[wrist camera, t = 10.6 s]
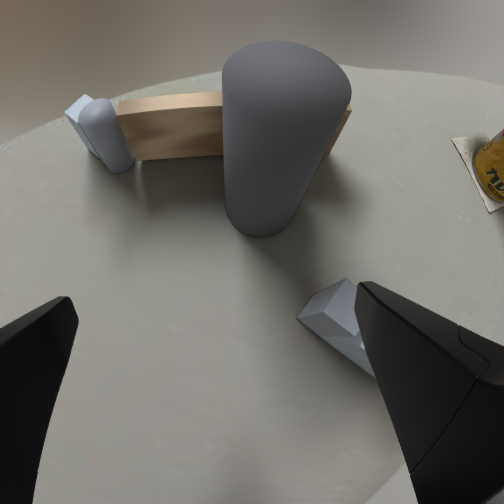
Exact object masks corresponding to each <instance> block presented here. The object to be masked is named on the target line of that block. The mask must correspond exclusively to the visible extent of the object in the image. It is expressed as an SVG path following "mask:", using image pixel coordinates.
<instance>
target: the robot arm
mask: <svg viewBox="0 0 504 504" xmlns="http://www.w3.org/2000/svg"><path fill="white" fill-rule="evenodd" d="M354 311H355V315H356V319H357V322H358V326H359V330H360V333H361V337H362V340H363V344H364V348H365V351H366V354H367V357H368V360H369V362H370V365H371V367H372V370H373V372H374V375H375V377H376V380H377V383H378V385H379V388H380V390H381V393H382V396H383V398H384V401H385V404H386V406H387V409H388V412H389V415H390V417H391V420H392V423H393V426H394V429H395V432H396V434H397V437H398V440H399V443H400V446H401V449H402V452H403V455H404V458H405V461H406V464H407V467H408V470H409V473H410V478H411V481H412V484H413V487H414V491H415V494H416V497H417V501H418V504H504V346H502V345H500V344H497V343H495V342H493V341H491V340H489V339H486V338H484V337H482V336H480V335H478V334H476V333H474V332H472V331H470V330H468V329H466V328H464V327H462V326H460V325H459V326H458V325H457V324H456V323H454V322H452V321H450V320H448V319H446V318H444V317H442V316H440V315H439V314H437V313H435V312H433V311H431V310H429V309H427V308H425V307H423V306H421V305H419V304H417V303H415V302H413V301H411V300H409V299H407V298H405V297H403V296H401V295H399V294H397V293H395V292H393V291H391V290H388V289H386V288H384V287H382V286H380V285H378V284H376V283H374V282H372V281H367V282H360V283H359V284H358V286H357V291H356V298H355V304H354ZM78 323H79V320H78V316H77V313H76V311H75V308H74V305H73V303H72V300H71V299H70V298H69V297H67V296H59V297H57V298H55V299H53V300H51V301H49V302H47V303H45V304H44V305H42V306H40V307H38V308H36V309H34V310H32V311H31V312H29V313H27V314H25V315H23V316H22V317H20V318H18V319H16V320H14V321H13V322H11V323H9V324H7V325H5V326H4V327H2V328H0V504H32V503H33V496H34V490H35V484H36V479H37V474H38V468H39V463H40V459H41V454H42V450H43V446H44V441H45V437H46V433H47V430H48V426H49V422H50V419H51V415H52V412H53V408H54V405H55V401H56V398H57V395H58V392H59V389H60V386H61V383H62V379H63V377H64V374H65V371H66V368H67V365H68V362H69V358H70V354H71V350H72V346H73V342H74V339H75V335H76V331H77V328H78Z"/></svg>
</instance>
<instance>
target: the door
mask: <svg viewBox="0 0 504 504" xmlns="http://www.w3.org/2000/svg"><path fill="white" fill-rule="evenodd" d="M351 111H352V110H351V106H350V103H349V105H348V107H347V109H346V111H345V113H344V115H343V117H342V119H341V121H340V123H339V125H338V127H337V129H336V131H335V133H334V135H333V137H332V140H331V142H330V144H329V146H328V148H327V150H326V152H325V154H324V155H329V153H330V152H331V150H332V148H333V146H334V144H335V142H336V140H337V138H338V136H339V134H340V133H341V131H342V129H343V127H344V125H345V123H346V121H347V119H348V117H349V115H350V113H351ZM116 117H117V119H118V121H119V123H120V125H121V128H122V130H123V132H124V134H125V136H126V138H127V141H128V143H129V145H130V147H131V149H132V151H133V153H134V155H135V157H136V159H137V161H143V160H153V159H165V158H179V157H194V156H214V155H224V152H223V105H222V92H205V93H189V94H177V95H166V96H156V97H148V98H140V99H133V100H126V101H120V102H119V105H118V109H117V113H116Z"/></svg>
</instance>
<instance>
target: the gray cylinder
mask: <svg viewBox="0 0 504 504" xmlns="http://www.w3.org/2000/svg"><path fill="white" fill-rule="evenodd" d="M350 100H351V85H350V82H349V80H348V78H347V76H346V74H345V73H344V71H343V70H342V69H341V68H340V67H339V65H337V64H336V63H335V62H334V61H333V60H332V59H330V58H329V57H328V56H326V55H324V54H323V53H321V52H319V51H317V50H315V49H313V48H310V47H308V46H305V45H301V44H298V43H292V42H287V41H264V42H258V43H254V44H251V45H248V46H245V47H243V48H241V49H240V50H238V51H236V52H235V53H234V54H233V55H231V57H229V59H228V60H227V61H226V63H225V65H224V68H223V71H222V105H223V152H224V185H225V209H226V213H227V216H228V218H229V220H230V222H231V223H232V224H233V226H234V227H235V228H237V229H238V230H239V231H241V232H242V233H244V234H246V235H249V236H252V237H269V236H273V235H275V234H277V233H279V232H281V231H282V230H283V229H285V227H286V226H287V225H288V224H289V223H290V221H291V219H292V217H293V215H294V213H295V211H296V209H297V207H298V205H299V203H300V201H301V199H302V197H303V195H304V193H305V191H306V189H307V187H308V185H309V183H310V181H311V179H312V177H313V176H314V174H315V172H316V170H317V168H318V166H319V164H320V162H321V160H322V158H323V156H324V154H325V152H326V150H327V148H328V146H329V144H330V142H331V140H332V137H333V135H334V133H335V131H336V129H337V127H338V125H339V123H340V121H341V119H342V117H343V115H344V113H345V111H346V109H347V107H348V105H349V103H350Z"/></svg>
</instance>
